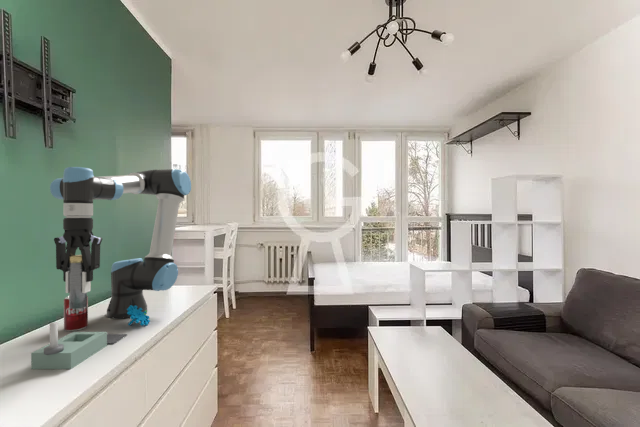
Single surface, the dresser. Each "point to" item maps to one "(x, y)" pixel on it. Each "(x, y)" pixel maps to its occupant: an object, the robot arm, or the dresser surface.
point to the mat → (114, 338)
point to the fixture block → (67, 349)
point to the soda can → (75, 317)
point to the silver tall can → (76, 283)
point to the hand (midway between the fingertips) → (78, 291)
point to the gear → (138, 315)
